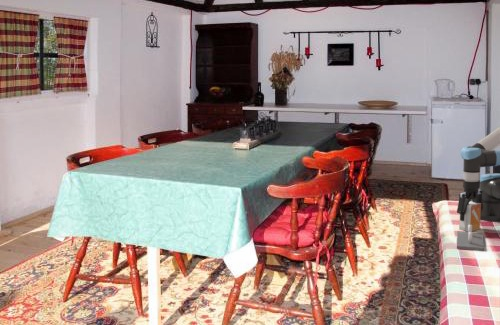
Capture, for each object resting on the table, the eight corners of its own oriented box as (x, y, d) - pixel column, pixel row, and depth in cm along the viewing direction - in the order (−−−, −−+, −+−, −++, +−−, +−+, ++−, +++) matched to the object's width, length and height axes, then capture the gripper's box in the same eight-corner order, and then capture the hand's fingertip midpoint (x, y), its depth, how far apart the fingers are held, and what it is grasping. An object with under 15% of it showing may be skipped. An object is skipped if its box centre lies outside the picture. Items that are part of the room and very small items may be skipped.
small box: (470, 232, 264) (471, 205, 262) (458, 229, 269) (459, 203, 267) (480, 228, 268) (481, 203, 266) (469, 226, 274) (469, 200, 271)
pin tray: (457, 233, 262) (457, 221, 261) (482, 235, 258) (482, 222, 257) (456, 248, 242) (457, 235, 241) (483, 250, 238) (484, 237, 237)
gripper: (480, 176, 272) (478, 220, 276) (449, 181, 263) (448, 227, 267) (493, 178, 266) (490, 223, 270) (462, 184, 256) (460, 231, 260)
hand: (469, 225), depth 268 cm, fingers closed on small box, 8 cm apart
